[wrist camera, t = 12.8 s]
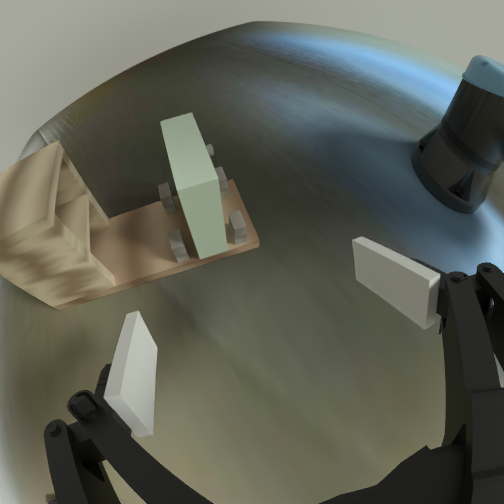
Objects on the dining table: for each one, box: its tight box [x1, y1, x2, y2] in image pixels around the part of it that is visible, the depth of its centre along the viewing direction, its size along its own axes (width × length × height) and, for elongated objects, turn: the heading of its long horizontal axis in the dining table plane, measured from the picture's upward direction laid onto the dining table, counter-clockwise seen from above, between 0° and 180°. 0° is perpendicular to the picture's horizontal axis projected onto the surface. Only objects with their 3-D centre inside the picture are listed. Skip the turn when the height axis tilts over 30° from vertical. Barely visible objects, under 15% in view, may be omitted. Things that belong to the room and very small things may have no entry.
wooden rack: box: [0, 140, 259, 311], centre depth 24 cm, size 25×9×15 cm, turn 110°
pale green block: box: [160, 113, 228, 259], centre depth 26 cm, size 4×9×11 cm, turn 20°
